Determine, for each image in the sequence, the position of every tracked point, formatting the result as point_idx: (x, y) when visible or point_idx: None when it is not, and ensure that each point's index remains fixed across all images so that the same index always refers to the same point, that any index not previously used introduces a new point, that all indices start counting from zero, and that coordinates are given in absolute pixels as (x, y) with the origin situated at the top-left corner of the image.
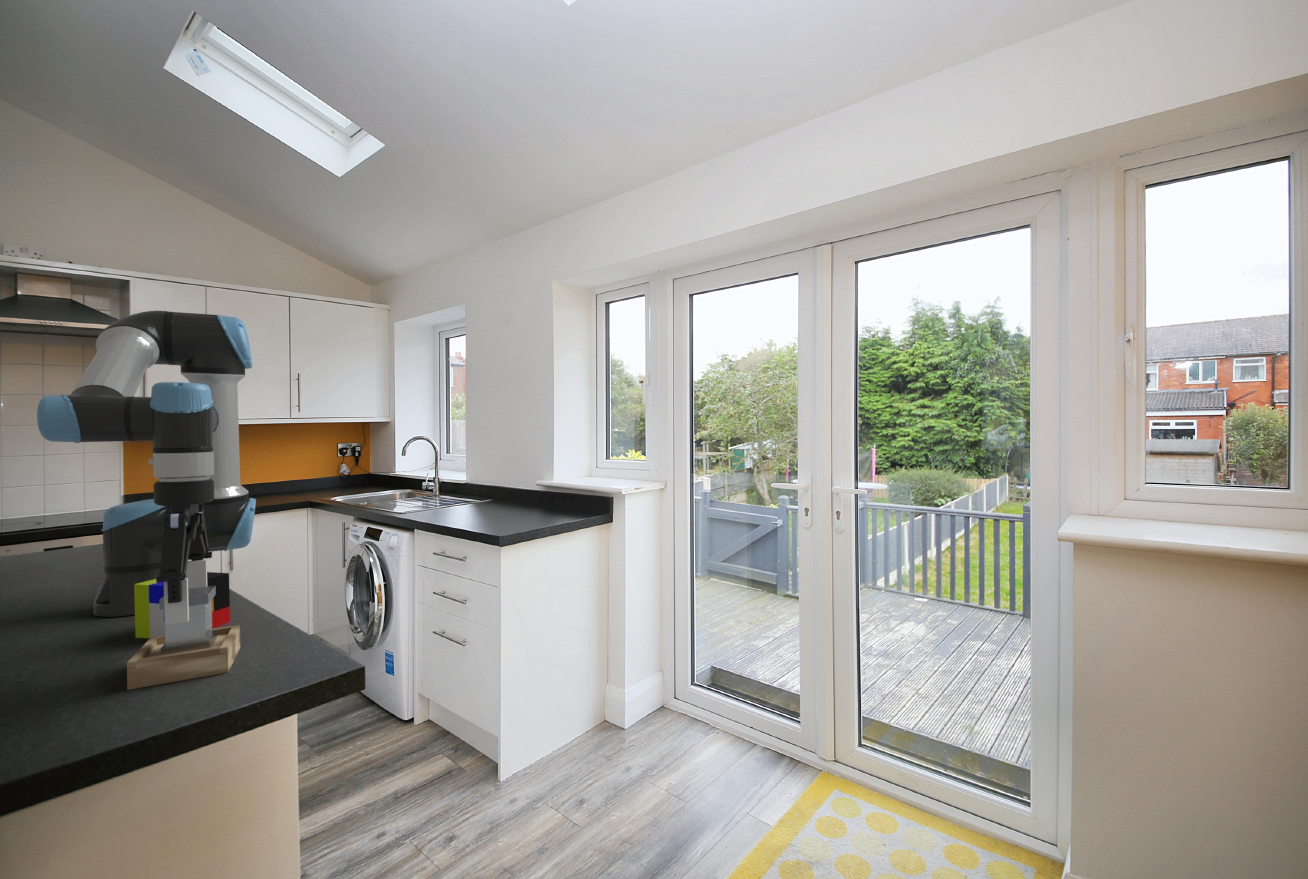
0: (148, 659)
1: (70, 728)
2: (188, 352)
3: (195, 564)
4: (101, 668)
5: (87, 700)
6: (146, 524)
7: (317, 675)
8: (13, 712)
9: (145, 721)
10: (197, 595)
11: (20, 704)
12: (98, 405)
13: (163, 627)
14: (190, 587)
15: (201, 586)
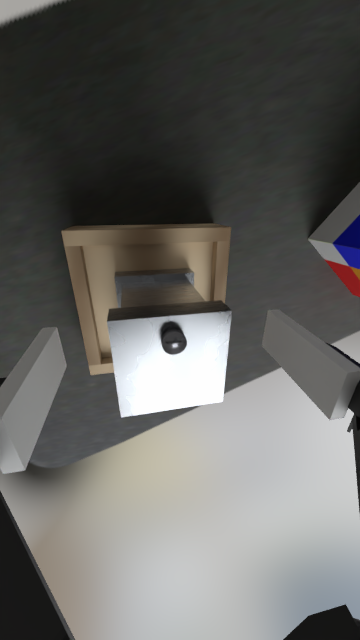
0: (69, 267)
1: None
2: None
3: (328, 388)
4: (225, 137)
5: (42, 168)
6: None
7: (38, 445)
8: (17, 21)
9: None
10: (119, 399)
11: (65, 20)
12: None
13: (354, 209)
14: (284, 332)
15: (279, 353)
